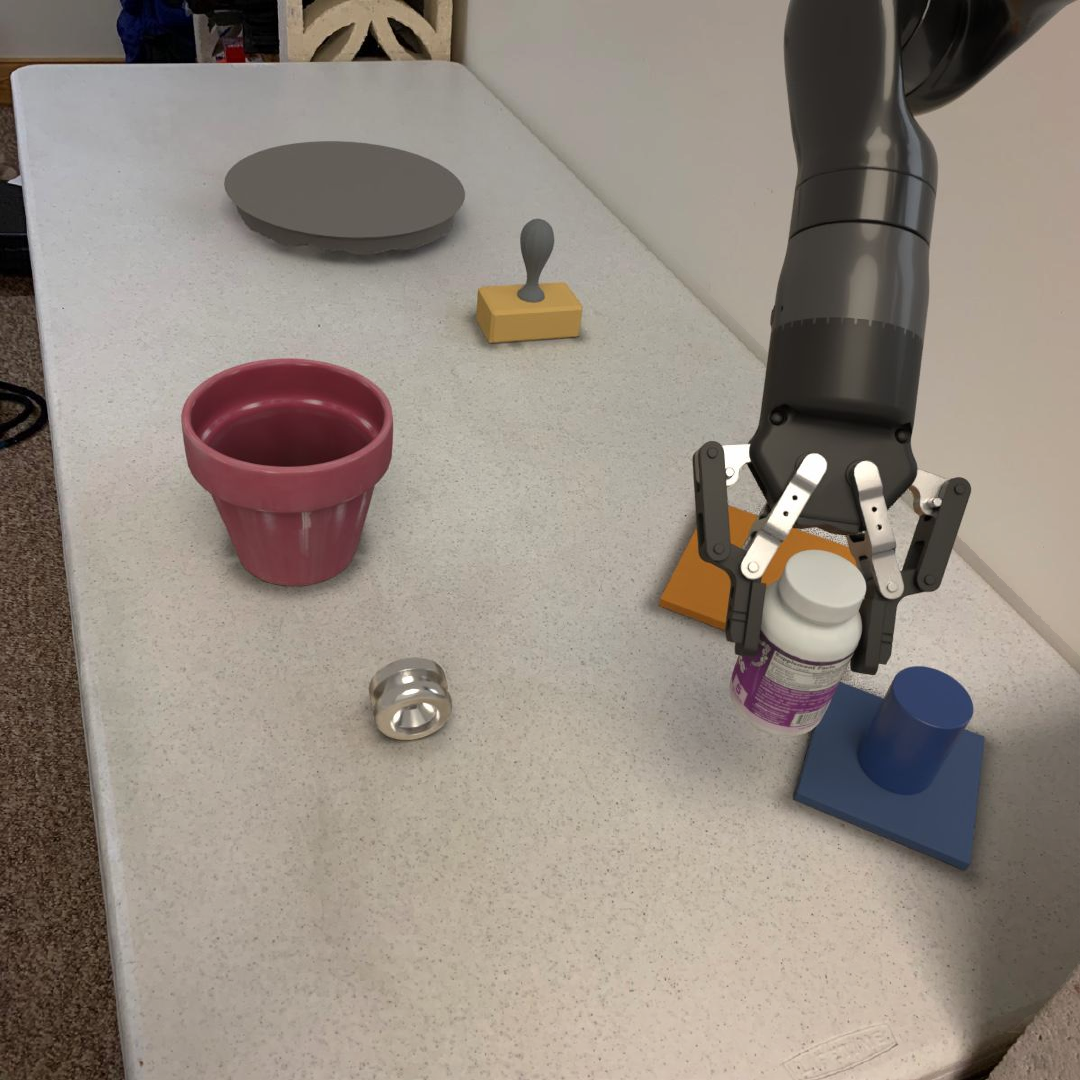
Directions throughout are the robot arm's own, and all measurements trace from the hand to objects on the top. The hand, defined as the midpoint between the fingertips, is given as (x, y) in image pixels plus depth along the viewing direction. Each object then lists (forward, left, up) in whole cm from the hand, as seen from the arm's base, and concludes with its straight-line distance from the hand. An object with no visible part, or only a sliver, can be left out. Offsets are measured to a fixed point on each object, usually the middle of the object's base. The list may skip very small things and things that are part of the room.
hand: (804, 663), depth 50 cm
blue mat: (-9, -11, -17) cm, 22 cm away
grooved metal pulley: (+21, +1, -17) cm, 28 cm away
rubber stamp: (+36, -51, -17) cm, 65 cm away
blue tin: (-9, -11, -16) cm, 21 cm away
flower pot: (+37, -10, -17) cm, 42 cm away
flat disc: (+65, -62, -17) cm, 92 cm away
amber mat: (+3, -25, -17) cm, 31 cm away
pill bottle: (+1, -2, -5) cm, 6 cm away
